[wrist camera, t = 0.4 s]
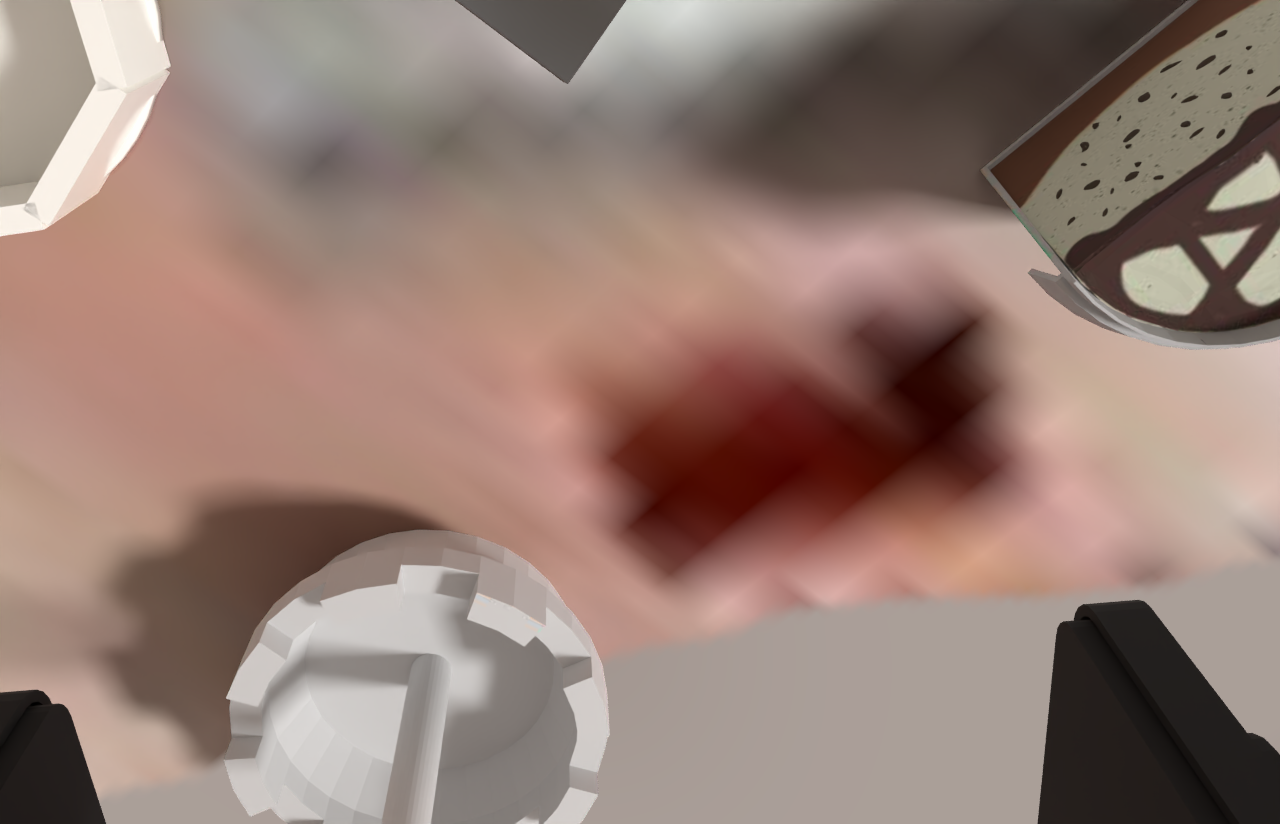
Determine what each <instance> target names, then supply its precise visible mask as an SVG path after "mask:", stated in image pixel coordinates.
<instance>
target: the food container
mask: <svg viewBox="0 0 1280 824" xmlns="http://www.w3.org/2000/svg"><path fill="white" fill-rule="evenodd" d="M980 171H981V172H982V174H983V175H984V176H985V178H986V179H987V180H988V181H989V183H990V184H991V185H992V186H993V188H994V189H995V190H996V191H997V193H998V194H999V195H1000V196H1001V198H1002V199H1003V200H1004V201H1005V203H1006V204H1007V205H1008V207H1009V208H1010V209H1011V210H1012V212H1013V213H1014V214H1015V215H1016V217H1017V218H1018V219H1019V220H1020V222H1021V223H1022V224H1023V225H1024V227H1025V228H1026V229H1027V230H1028V232H1029V233H1030V234H1031V236H1032V237H1033V238H1034V239H1035V241H1036V242H1037V243H1038V244H1039V246H1040V247H1041V248H1042V249H1043V251H1044V252H1045V253H1046V254H1047V256H1048V257H1049V258H1050V259H1051V261H1052V262H1053V263H1054V265H1055V266H1056V267H1057V268H1058V270H1059V271H1060V272H1061V274H1060V275H1059V276H1054V275H1051V274H1048V273H1045V272H1041V271H1038V270H1035V269H1031V270H1030V271H1029V272H1028V274H1029V275H1030V276H1031V277H1032V278H1033V279H1034V280H1035V281H1036V282H1037V283H1038V284H1039V285H1040V286H1041V287H1042V288H1043V289H1044V290H1045V291H1046V293H1047V294H1048V295H1050V296H1051V297H1052V298H1054V299H1055V300H1056V301H1058V302H1059V303H1060V304H1062V305H1063V306H1064V307H1066V308H1067V309H1068V310H1070V311H1071V312H1072V313H1074V314H1075V315H1077V316H1080V317H1082V318H1084V319H1086V320H1088V321H1090V322H1092V323H1094V324H1096V325H1098V326H1100V327H1102V328H1104V329H1107V330H1110V331H1113V332H1117V333H1120V334H1123V335H1126V336H1129V337H1132V338H1136V339H1139V340H1142V341H1146V342H1149V343H1152V344H1156V345H1159V346H1166V347H1174V348H1182V349H1190V350H1200V349H1227V348H1240V347H1245V346H1251V345H1256V344H1262V343H1268V342H1273V341H1276V340H1279V339H1280V0H1187V1H1186V2H1185V3H1184V4H1183V5H1181V6H1180V7H1179V8H1178V9H1176V10H1175V11H1174V12H1173V13H1172V14H1170V15H1169V16H1168V17H1167V18H1165V19H1164V20H1163V21H1162V22H1161V23H1159V24H1158V25H1157V26H1156V27H1154V28H1153V29H1152V30H1151V31H1150V32H1148V33H1147V34H1146V35H1145V36H1143V37H1142V38H1141V39H1140V40H1139V41H1137V42H1136V43H1135V44H1134V45H1132V46H1131V47H1130V48H1129V49H1128V50H1126V51H1125V52H1124V53H1123V54H1121V55H1120V56H1119V57H1118V58H1116V59H1115V60H1114V61H1113V62H1112V63H1110V64H1109V65H1108V66H1107V67H1105V68H1104V69H1103V70H1102V71H1101V72H1099V73H1098V74H1097V75H1096V76H1094V77H1093V78H1092V79H1091V80H1090V81H1088V82H1087V83H1086V84H1085V85H1083V86H1082V87H1081V88H1080V89H1079V90H1077V91H1076V92H1075V93H1074V94H1072V95H1071V96H1070V97H1069V98H1068V99H1066V100H1065V101H1064V102H1063V103H1061V104H1060V105H1059V106H1058V107H1057V108H1055V109H1054V110H1053V111H1052V112H1050V113H1049V114H1048V115H1047V116H1046V117H1044V118H1043V119H1042V120H1041V121H1039V122H1038V123H1037V124H1036V125H1035V126H1033V127H1032V128H1031V129H1030V130H1028V131H1027V132H1026V133H1025V134H1023V135H1022V136H1021V137H1020V138H1019V139H1017V140H1016V141H1015V142H1014V143H1012V144H1011V145H1010V146H1009V147H1008V148H1006V149H1005V150H1004V151H1003V152H1001V153H1000V154H999V155H998V156H997V157H995V158H994V159H993V160H992V161H990V162H989V163H988V164H987V165H986V166H984V167H983V168H982V169H981V170H980Z"/></svg>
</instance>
